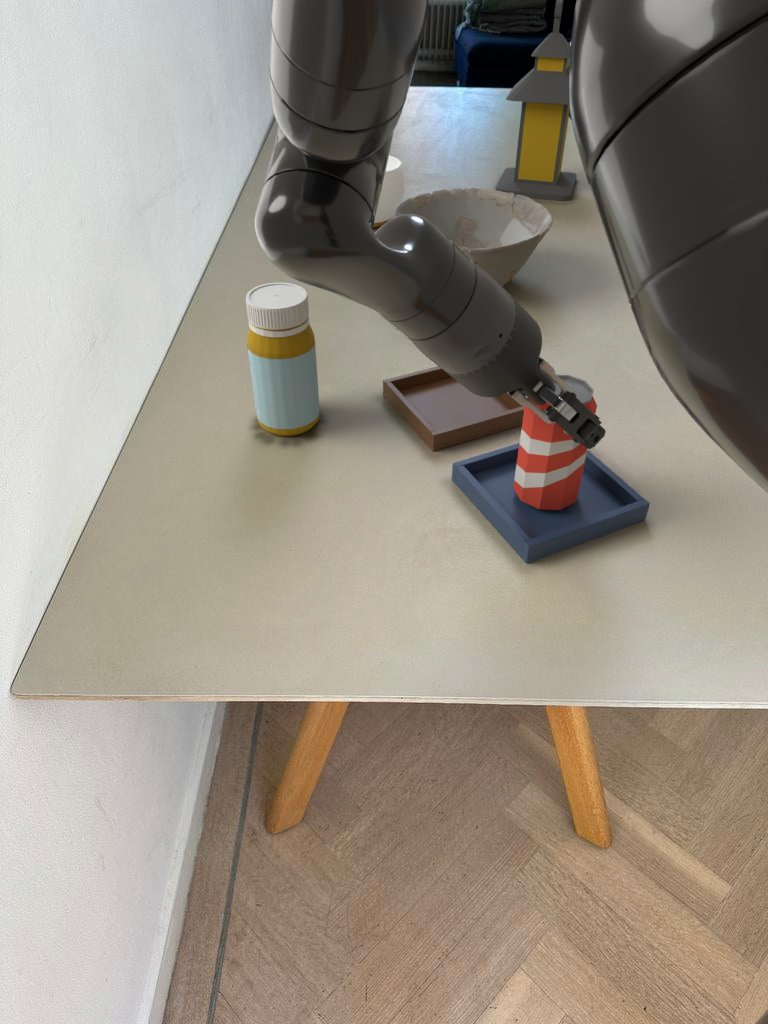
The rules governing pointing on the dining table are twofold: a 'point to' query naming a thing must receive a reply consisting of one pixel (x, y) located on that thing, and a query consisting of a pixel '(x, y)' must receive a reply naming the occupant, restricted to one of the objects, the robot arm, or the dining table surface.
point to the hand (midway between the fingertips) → (572, 419)
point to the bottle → (282, 358)
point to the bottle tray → (449, 408)
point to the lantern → (543, 123)
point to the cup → (390, 191)
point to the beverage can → (551, 455)
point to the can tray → (542, 530)
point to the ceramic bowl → (485, 225)
